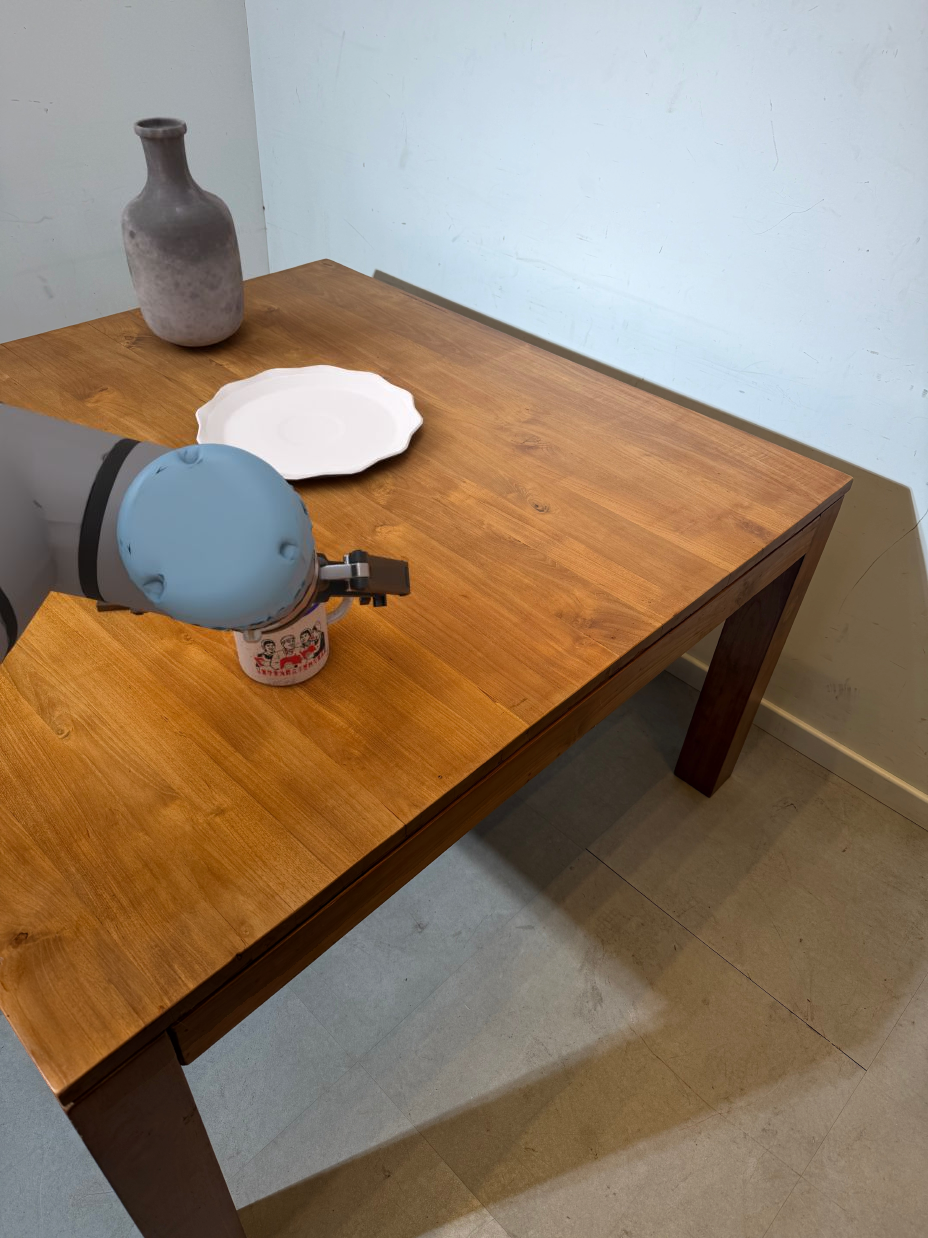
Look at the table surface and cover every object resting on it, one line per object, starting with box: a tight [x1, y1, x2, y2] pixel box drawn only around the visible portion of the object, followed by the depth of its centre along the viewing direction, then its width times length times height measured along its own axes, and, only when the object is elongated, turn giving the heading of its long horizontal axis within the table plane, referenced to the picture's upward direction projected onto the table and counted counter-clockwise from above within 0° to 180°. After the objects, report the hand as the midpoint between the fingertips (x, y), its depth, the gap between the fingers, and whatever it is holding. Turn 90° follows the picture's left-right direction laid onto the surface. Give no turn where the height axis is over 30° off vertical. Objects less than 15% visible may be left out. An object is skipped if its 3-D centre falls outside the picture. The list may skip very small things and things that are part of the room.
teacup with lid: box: [232, 597, 355, 687], centre depth 78 cm, size 12×9×12 cm
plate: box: [195, 364, 424, 482], centre depth 111 cm, size 29×29×2 cm
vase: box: [120, 116, 245, 348], centre depth 121 cm, size 16×16×30 cm
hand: (280, 594), depth 69 cm, fingers open, 13 cm apart
